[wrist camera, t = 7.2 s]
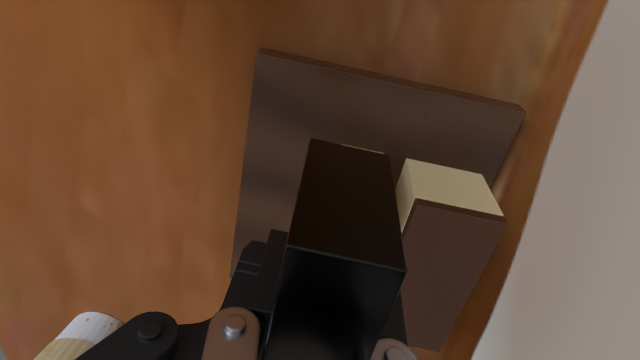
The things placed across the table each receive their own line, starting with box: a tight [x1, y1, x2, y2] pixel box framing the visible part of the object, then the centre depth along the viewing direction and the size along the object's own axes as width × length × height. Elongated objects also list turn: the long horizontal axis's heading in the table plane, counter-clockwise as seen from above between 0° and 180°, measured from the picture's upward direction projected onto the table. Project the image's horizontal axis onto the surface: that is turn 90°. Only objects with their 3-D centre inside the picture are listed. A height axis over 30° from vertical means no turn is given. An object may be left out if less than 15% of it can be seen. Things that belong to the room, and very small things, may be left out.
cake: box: [395, 158, 508, 352], centre depth 30 cm, size 12×6×6 cm, turn 169°
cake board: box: [230, 48, 526, 278], centre depth 32 cm, size 20×18×2 cm
